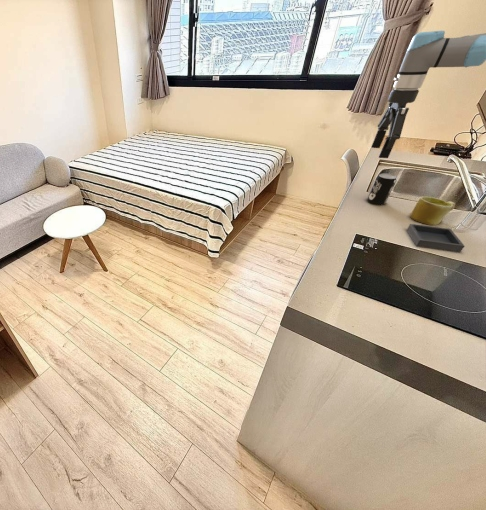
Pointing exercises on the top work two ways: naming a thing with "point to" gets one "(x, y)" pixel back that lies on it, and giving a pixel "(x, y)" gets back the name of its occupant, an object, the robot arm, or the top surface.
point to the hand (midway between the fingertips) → (378, 152)
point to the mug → (431, 210)
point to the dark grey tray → (435, 238)
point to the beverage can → (381, 189)
